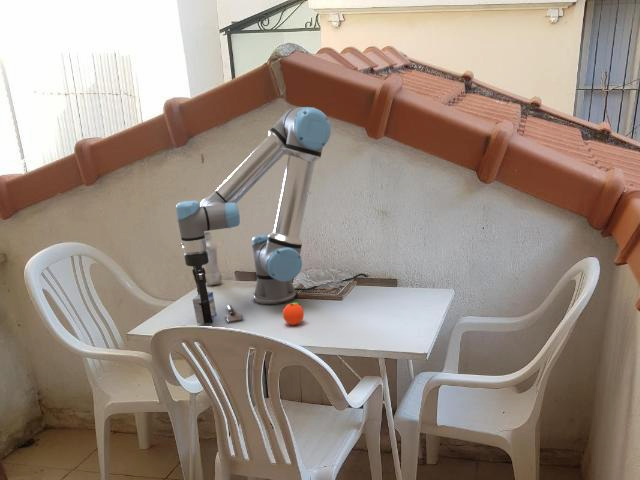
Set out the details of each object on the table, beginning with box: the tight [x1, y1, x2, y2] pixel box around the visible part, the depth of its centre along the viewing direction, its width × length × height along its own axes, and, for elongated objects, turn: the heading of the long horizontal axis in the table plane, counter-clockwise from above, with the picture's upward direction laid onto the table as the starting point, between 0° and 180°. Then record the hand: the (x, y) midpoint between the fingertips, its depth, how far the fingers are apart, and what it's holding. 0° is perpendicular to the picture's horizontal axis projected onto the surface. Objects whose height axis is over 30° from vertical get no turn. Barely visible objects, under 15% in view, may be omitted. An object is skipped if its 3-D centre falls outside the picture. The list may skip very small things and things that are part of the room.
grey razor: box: [225, 304, 243, 324], centre depth 241 cm, size 16×5×2 cm, turn 15°
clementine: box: [282, 302, 305, 326], centre depth 227 cm, size 8×7×7 cm
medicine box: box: [192, 291, 218, 324], centre depth 233 cm, size 8×4×9 cm, turn 168°
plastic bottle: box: [204, 231, 222, 286], centre depth 272 cm, size 6×7×20 cm
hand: (206, 318), depth 235 cm, fingers closed on medicine box, 9 cm apart
